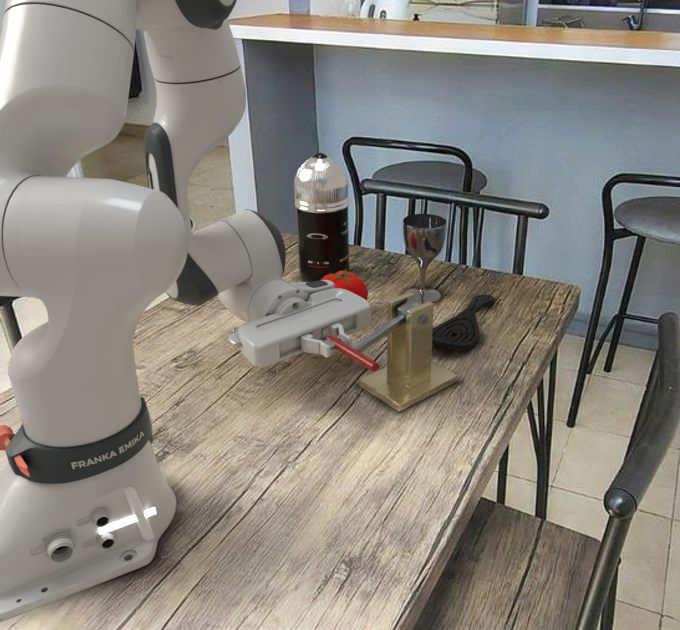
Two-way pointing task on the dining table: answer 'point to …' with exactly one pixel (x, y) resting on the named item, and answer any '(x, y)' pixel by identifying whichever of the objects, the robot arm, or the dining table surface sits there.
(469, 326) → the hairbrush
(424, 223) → the metal goblet
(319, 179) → the black silver domed canister
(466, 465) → the dining table surface
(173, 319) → the dining table surface
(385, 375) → the bracket
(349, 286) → the tomato
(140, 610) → the dining table surface
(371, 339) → the lever
